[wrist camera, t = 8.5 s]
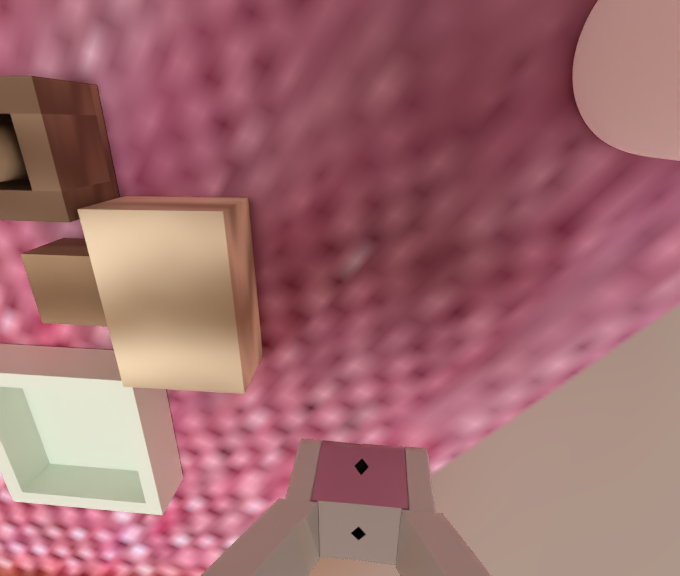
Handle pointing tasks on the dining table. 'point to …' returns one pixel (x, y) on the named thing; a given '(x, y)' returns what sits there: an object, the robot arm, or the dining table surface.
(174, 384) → the board
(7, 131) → the dowel
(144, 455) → the tray
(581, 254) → the dining table surface
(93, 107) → the socket block
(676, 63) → the cup
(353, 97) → the dining table surface
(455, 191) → the dining table surface
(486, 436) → the dining table surface
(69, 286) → the small brown block
